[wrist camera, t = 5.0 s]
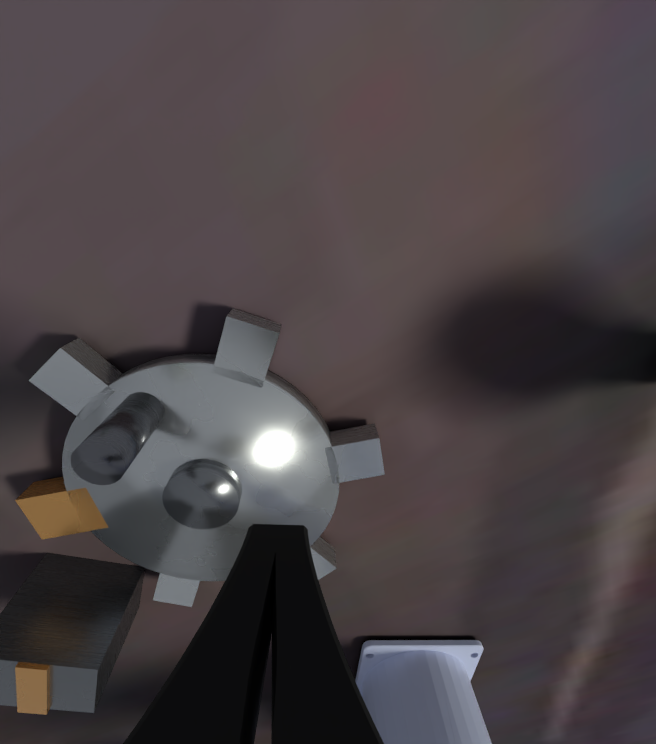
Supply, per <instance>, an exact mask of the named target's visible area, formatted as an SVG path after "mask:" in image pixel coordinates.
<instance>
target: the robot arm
mask: <svg viewBox="0 0 656 744" xmlns="http://www.w3.org/2000/svg"><path fill="white" fill-rule="evenodd" d="M271 634H272V744H492V743H491V740H490V737H489V734H488V731H487V729H486V726H485V723H484V720H483V717H482V714H481V711H480V709H479V706H478V703H477V700H476V697H475V694H474V691H473V689H472V686H471V683H470V681H471V678H472V676H473V674H474V671H475V669H476V666H477V664H478V661H479V659H480V657H481V654H482V652H483V646H482V643H481V642H480V641H478V640H368V641H366V642H364V643H363V645H362V650H361V655H360V659H359V664H358V669H357V674H356V679H355V680H354V677H353V675H352V672H351V670H350V668H349V665H348V663H347V660H346V658H345V655H344V653H343V650H342V648H341V645H340V642H339V640H338V637H337V635H336V632H335V629H334V626H333V624H332V621H331V618H330V615H329V612H328V609H327V606H326V603H325V600H324V597H323V594H322V591H321V588H320V584H319V581H318V578H317V574H316V570H315V566H314V563H313V558H312V554H311V549H310V544H309V538H308V529H307V528H306V527H305V526H304V525H275V524H253V525H251V526H250V527H249V528H248V531H247V534H246V537H245V540H244V542H243V545H242V547H241V549H240V552H239V554H238V556H237V558H236V560H235V563H234V565H233V567H232V569H231V571H230V573H229V575H228V577H227V579H226V581H225V583H224V584H223V586H222V588H221V590H220V592H219V594H218V596H217V598H216V599H215V601H214V603H213V605H212V607H211V609H210V611H209V612H208V614H207V616H206V618H205V619H204V621H203V623H202V624H201V626H200V628H199V629H198V631H197V633H196V634H195V636H194V638H193V639H192V641H191V643H190V644H189V646H188V648H187V649H186V651H185V653H184V654H183V656H182V657H181V659H180V661H179V662H178V664H177V665H176V667H175V669H174V670H173V672H172V673H171V675H170V676H169V678H168V679H167V681H166V682H165V684H164V685H163V687H162V688H161V690H160V691H159V693H158V695H157V696H156V697H155V699H154V700H153V702H152V703H151V705H150V706H149V708H148V709H147V711H146V712H145V714H144V715H143V716H142V718H141V719H140V721H139V722H138V724H137V725H136V727H135V728H134V729H133V731H132V732H131V734H130V735H129V736H128V738H127V739H126V740H125V742H124V743H123V744H254V739H255V733H256V727H257V721H258V714H259V708H260V702H261V696H262V690H263V683H264V677H265V671H266V665H267V659H268V652H269V646H270V640H271Z"/></svg>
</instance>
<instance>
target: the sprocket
mask: <svg viewBox="0 0 656 744" xmlns="http://www.w3.org/2000/svg"><path fill="white" fill-rule="evenodd" d="M280 328H281V324H279V323H276V322H273V321H270V320H267V319H264V318H261V317H258V316H254V315H251V314H248V313H245V312H242V311H239V310H236V309H232V310H231V311H230V312H229V314H228V315H227V316H226V320H225V324H224V328H223V332H222V336H221V340H220V343H219V347H218V351H217V355H212V354H182V355H173V356H167V357H163V358H159V359H155V360H151V361H148V362H146V363H143V364H141V365H139V366H136V367H134V368H132V369H130V370H128V371H127V372H125V373H123V374H122V373H121V372H120V371H119V370H118V369H116V368H115V367H114V366H113V365H112V364H110V363H109V362H108V361H107V360H105V359H104V358H103V357H102V356H101V355H99V354H98V353H97V352H96V351H95V350H93V349H92V348H91V347H90V346H88V345H87V344H86V343H85V342H84V341H82V340H81V339H80V338H78V339H76V340H74V341H72V342H70V343H68V344H66V345H65V346H63V347H61V348H60V349H59V350H58V351H57V352H56V353H55V354H54V355H53V356H52V357H51V358H50V359H49V360H48V361H47V362H46V363H45V364H44V365H43V366H42V367H41V368H40V369H39V370H38V371H37V372H36V373H35V374H34V375H33V376H32V378H31V379H30V380H29V381H30V382H31V383H33V384H34V385H35V386H37V387H38V388H39V389H41V390H42V391H43V392H45V393H46V394H47V395H49V396H50V397H52V398H53V399H54V400H56V401H57V402H58V403H60V404H61V405H62V406H64V407H65V408H66V409H68V410H69V411H70V412H72V413H73V414H75V415H76V416H77V417H76V418H75V420H74V422H73V423H72V425H71V427H70V429H69V432H68V434H67V437H66V439H65V444H64V449H63V454H62V472H63V477H58V478H53V479H47V480H42V481H36V482H33V483H32V484H31V485H30V486H29V487H28V488H27V489H26V490H25V491H24V492H23V493H22V494H21V495H20V496H19V497H18V498H17V499H16V500H15V501H16V502H17V504H18V505H19V506H20V508H21V509H22V511H23V512H24V514H25V515H26V517H27V518H28V520H29V521H30V523H31V524H32V525H33V527H34V528H35V530H36V531H37V533H38V534H39V536H40V537H41V539H47V538H53V537H58V536H64V535H69V534H75V533H81V532H86V531H91V532H92V533H93V534H94V535H95V536H96V537H97V538H98V539H100V540H101V541H102V542H103V543H104V544H105V545H106V546H108V547H109V548H111V549H112V550H113V551H115V552H116V553H118V554H119V555H121V556H122V557H124V558H126V559H128V560H130V561H131V562H133V563H135V564H138V565H140V566H142V567H144V568H147V569H149V570H152V571H155V572H158V573H160V575H159V579H158V583H157V587H156V590H155V594H154V598H153V600H155V601H160V602H166V603H172V604H178V605H184V606H189V607H192V604H193V601H194V598H195V595H196V592H197V589H198V585H199V582H200V581H226V579H227V577H228V575H229V573H230V571H231V569H232V567H233V565H234V563H235V560H236V558H237V556H238V554H239V552H240V549H241V547H242V545H243V542H244V540H245V537H246V534H247V531H248V528H249V527H250V526H251V525H253V524H275V525H304V526H305V527H306V528H307V529H308V538H309V544H310V549H311V554H312V558H313V563H314V566H315V570H316V574H317V578H318V580H319V579H320V578H322V577H324V576H325V575H327V574H328V573H330V572H331V571H333V570H335V569H336V568H337V567H336V556H335V548H334V547H332V546H331V545H330V544H329V543H327V542H326V541H325V540H324V539H323V538H321V537H320V535H321V534H322V532H323V531H324V530H325V528H326V527H327V525H328V523H329V521H330V519H331V518H332V515H333V512H334V510H335V507H336V503H337V499H338V494H339V483H340V482H346V481H351V480H357V479H362V478H368V477H374V476H379V475H385V474H384V467H383V460H382V454H381V447H380V440H379V436H378V433H377V430H376V427H375V424H369V425H364V426H358V427H353V428H347V429H342V430H336V431H331V432H330V431H329V428H328V426H327V424H326V422H325V420H324V419H323V417H322V416H321V414H320V413H319V411H318V410H317V408H316V407H315V406H314V405H313V404H312V403H311V402H310V400H309V399H308V398H307V397H306V396H305V395H304V394H303V393H301V392H300V391H299V390H298V389H297V388H296V387H295V386H293V385H292V384H291V383H289V382H288V381H286V380H285V379H283V378H282V377H280V376H279V375H277V374H275V373H273V372H271V371H269V370H268V367H269V364H270V361H271V358H272V355H273V352H274V348H275V345H276V342H277V339H278V336H279V333H280Z"/></svg>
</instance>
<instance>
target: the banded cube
mask: <svg viewBox="0 0 656 744" xmlns="http://www.w3.org/2000/svg"><path fill="white" fill-rule="evenodd" d="M144 570H145V568H144V567H140V566H133V565H127V564H120V563H113V562H106V561H100V560H93V559H86V558H80V557H73V556H66V555H60V554H53V553H47V554H46V555H45V556H44V557H43V559H42V560H41V561H40V563H39V564H38V565H37V567H36V568H35V569H34V570H33V572H32V573H31V574H30V576H29V577H28V578H27V580H26V581H25V582H24V584H23V585H22V586H21V587H20V589H19V590H18V591H17V593H16V594H15V595H14V597H13V598H12V599H11V600H10V602H9V603H8V604H7V606H6V607H5V608H4V610H3V611H2V612H1V613H0V705H6V706H17V712H19V713H31V714H44V715H47V713H48V711H49V709H53V710H65V711H77V712H89V713H94V712H95V709H96V707H97V705H98V702H99V700H100V698H101V695H102V693H103V691H104V688H105V686H106V684H107V681H108V679H109V677H110V674H111V672H112V670H113V667H114V665H115V662H116V660H117V658H118V655H119V653H120V651H121V648H122V646H123V644H124V641H125V639H126V637H127V634H128V632H129V630H130V627H131V625H132V623H133V620H134V618H135V616H136V613H137V611H138V609H139V604H140V597H141V591H142V584H143V577H144Z"/></svg>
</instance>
